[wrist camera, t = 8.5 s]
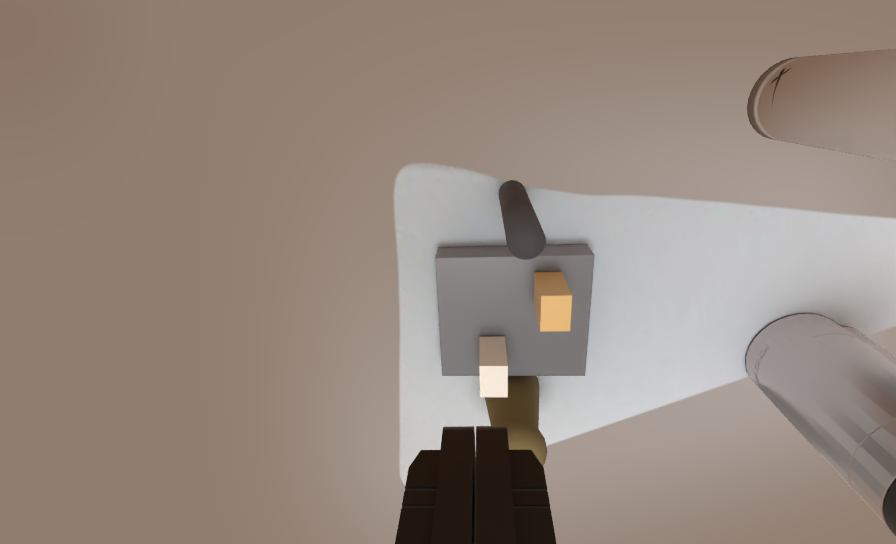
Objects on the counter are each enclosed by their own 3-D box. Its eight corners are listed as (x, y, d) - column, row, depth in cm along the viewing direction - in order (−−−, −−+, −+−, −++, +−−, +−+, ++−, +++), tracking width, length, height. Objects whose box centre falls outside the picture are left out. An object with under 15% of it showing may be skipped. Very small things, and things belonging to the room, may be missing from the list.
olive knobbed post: (528, 356, 48) (542, 428, 38) (546, 401, 50) (563, 481, 40) (474, 372, 49) (473, 446, 39) (493, 415, 51) (497, 497, 41)
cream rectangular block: (504, 336, 44) (507, 366, 39) (504, 365, 45) (507, 397, 40) (479, 336, 44) (479, 366, 39) (480, 365, 45) (480, 397, 41)
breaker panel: (586, 244, 43) (594, 255, 41) (578, 358, 48) (585, 375, 45) (438, 247, 44) (435, 258, 42) (444, 359, 49) (442, 375, 46)
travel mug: (735, 78, 37) (984, 71, 19) (823, 44, 36) (1184, 0, 18) (747, 152, 39) (984, 211, 21) (832, 122, 38) (1163, 156, 20)
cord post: (525, 179, 42) (546, 222, 29) (525, 206, 42) (545, 259, 29) (498, 180, 42) (507, 223, 29) (498, 207, 43) (507, 260, 30)
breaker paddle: (561, 271, 41) (572, 295, 36) (560, 304, 42) (570, 331, 38) (534, 272, 41) (541, 295, 37) (533, 304, 42) (540, 331, 38)
